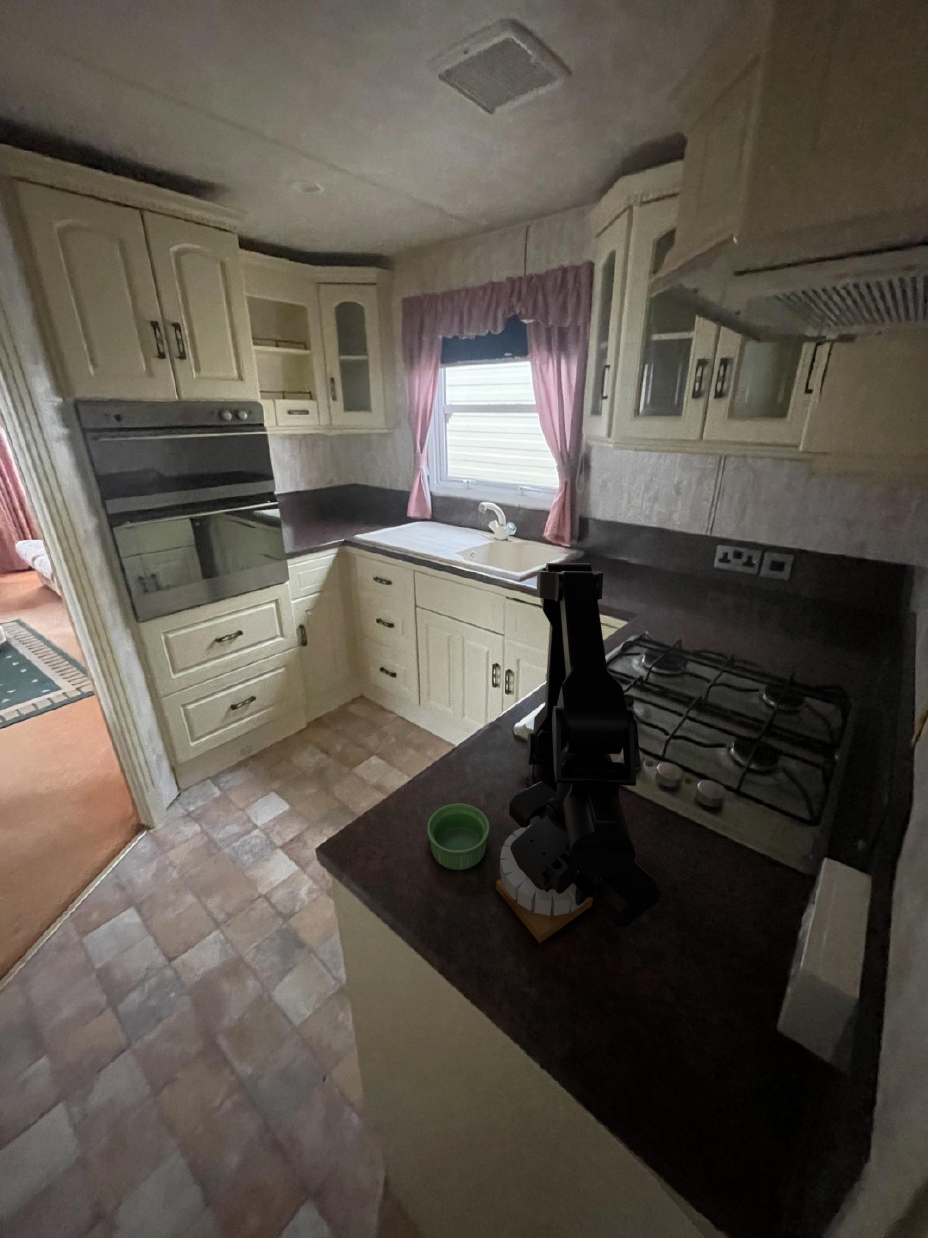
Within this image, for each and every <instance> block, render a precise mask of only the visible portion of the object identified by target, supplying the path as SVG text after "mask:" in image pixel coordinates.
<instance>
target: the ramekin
mask: <svg viewBox="0 0 928 1238" xmlns="http://www.w3.org/2000/svg"><path fill="white" fill-rule="evenodd" d="M426 830H427V831H426V832H427V836H428V839H429V843H430V847H431V848H430V849H431V852H432V853H431V854H432V856H433V857H434V859H435V860H436V862H437V863H439V865H441V866H442V867H444V868H447V869H451V870H455V871H463V870H467V869H470V868H472V867H474V866H476V865H477V864H478V863H480V861H481V860H482V859H483V858H484V856H485V853H486V850H487V842H488V838H489V834H490V822H489V819H488V817H487V816H486V815H485V813H484V812H482V811H481V810H480V809H479V808H477V807H475V806H473V805H471V804H467V803H460V802H459V803H450V804H447V805H444V806H442V807H440V808H438V809H437V810H436V811H434V812H433V813H432V815H431V816H430V817H429V820H428V822H427V826H426Z"/></svg>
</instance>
